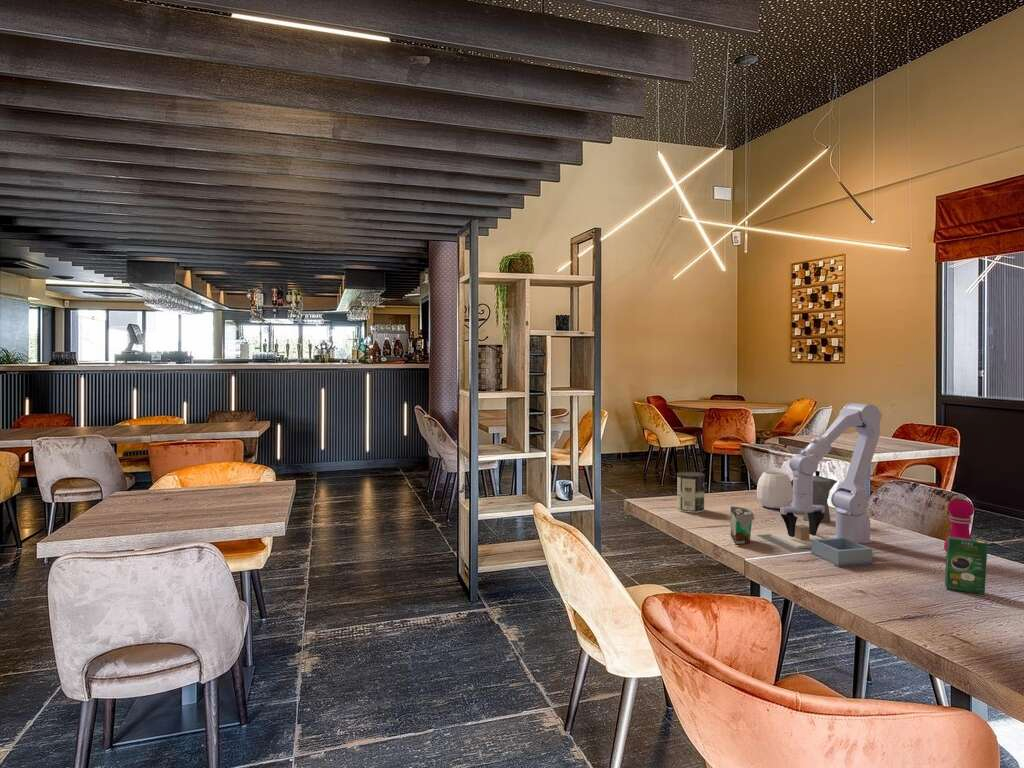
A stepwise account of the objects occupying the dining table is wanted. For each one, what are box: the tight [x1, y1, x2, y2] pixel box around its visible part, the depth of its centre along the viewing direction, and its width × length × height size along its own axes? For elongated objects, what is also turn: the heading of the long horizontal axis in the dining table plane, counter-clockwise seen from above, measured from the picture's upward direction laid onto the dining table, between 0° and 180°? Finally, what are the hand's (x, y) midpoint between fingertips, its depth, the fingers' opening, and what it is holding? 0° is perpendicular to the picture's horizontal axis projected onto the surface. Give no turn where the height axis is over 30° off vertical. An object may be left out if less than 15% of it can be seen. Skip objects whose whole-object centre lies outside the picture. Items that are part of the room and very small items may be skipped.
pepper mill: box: [943, 493, 975, 553], centre depth 172 cm, size 7×7×20 cm
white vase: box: [756, 470, 793, 510], centre depth 240 cm, size 13×13×14 cm
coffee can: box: [676, 471, 706, 514], centre depth 235 cm, size 10×10×14 cm
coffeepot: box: [791, 470, 838, 524], centre depth 220 cm, size 15×9×18 cm, turn 79°
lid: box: [770, 524, 822, 549], centre depth 193 cm, size 13×13×5 cm
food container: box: [730, 506, 755, 546], centre depth 193 cm, size 12×6×10 cm, turn 168°
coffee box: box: [944, 535, 988, 595], centre depth 152 cm, size 8×3×13 cm, turn 62°
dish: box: [810, 538, 874, 568], centre depth 176 cm, size 11×11×4 cm
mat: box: [756, 533, 828, 553], centre depth 193 cm, size 20×18×1 cm
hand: (802, 535), depth 193 cm, fingers open, 7 cm apart
